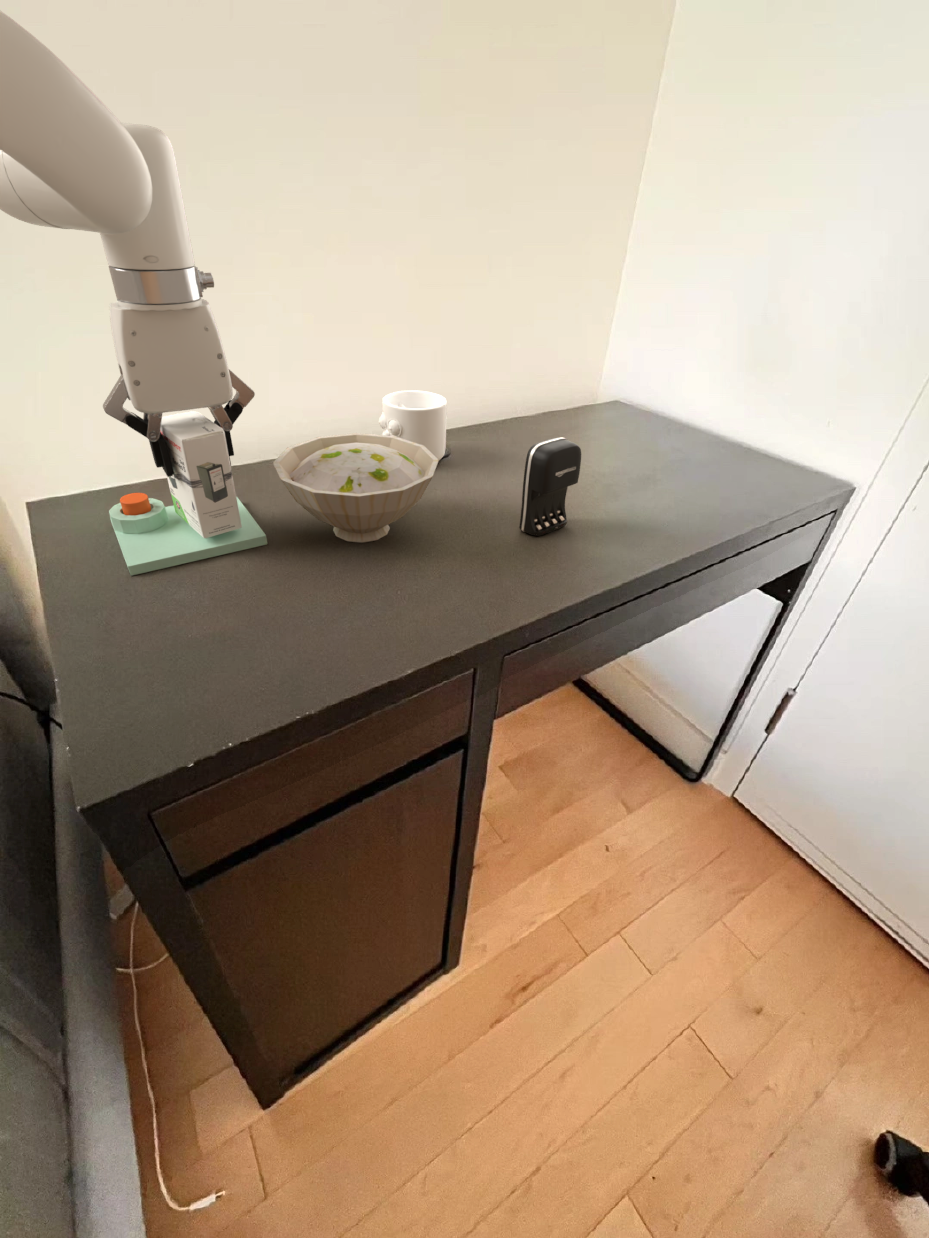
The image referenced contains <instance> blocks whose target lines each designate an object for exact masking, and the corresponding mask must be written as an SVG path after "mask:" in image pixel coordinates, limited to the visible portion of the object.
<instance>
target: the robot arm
mask: <svg viewBox="0 0 929 1238" xmlns="http://www.w3.org/2000/svg"><path fill="white" fill-rule="evenodd" d="M182 191H183V190H182V186H181V181H180V176H179V170H178V164H177V159H176V154H175V150H174V147H173V144H172V142H171V140H170V138H169V137H168V135H167V134H166V133H165V132H164V131H163V130H161V129H159V128H157V127H155V126H152V125H148V124H139V123H130V122H121V121H120V120H119V118H118V117H117V116H116V115H115V114H114V113H113V112H112V111H111V110H110V108H108V106H107V105H106V104H105V103H104V102H103V101H102V100H101V99H100V98H99V97H98V96H97V95H96V94H95V93H94V92H93V91H92V90H91V89H90V88H89V87H88V86H87V85H86V84H85V82H84V81H82V80H81V78H79V77H78V76H77V74H75V73H74V72H73V71H72V69H70V68H69V67H68V66H67V64H66V63H65V62H63V60H61V59H60V58H59V56H57V55H56V54H55V53H54V52H53V51H51V50H50V48H48V47H47V46H46V45H45V44H44V43H42V41H40V40H39V39H38V38H36V37H35V35H33V34H32V33H30V31H28V30H27V29H25V28H24V27H23V26H22V25H20V24H19V23H18V22H17V21H15V20H14V19H13V18H11V17H10V16H8V15H7V14H6V13H5V12H3V11H2V10H0V210H1V211H2V212H3V213H5V214H7V216H8V215H9V216H10V217H12V218H14V219H16V220H19V221H22V222H24V223H28V224H31V225H34V226H38V227H46V228H53V229H60V230H61V229H62V230H76V231H84V232H92V233H99V236H100V238H101V243H102V247H103V250H104V254H105V258H106V263H107V265H108V270H109V273H110V277H111V283H112V285H113V290H114V293H115V297H116V301H112V302H110V303H109V306H108V307H109V309H108V310H109V321H110V329H111V330H110V331H111V335H112V341H113V347H114V351H115V356H116V361H117V366H118V369H119V374H120V376H119V378H118V380H117V381H116V382H115V384H114V386H113V388H112V389H111V391H110V392H109V394H108V396H107V398H106V399H105V400H104V402H103V403H102V409H103V411H104V412H105V414H107V415H108V416H110V417H111V418H113V419H115V420H117V421H119V422H121V423H123V424H124V425H126V426H128V427H129V428H130V429H132V430H134V431H135V432H137V433H138V434H140V435H142V436H143V437H145V438H147V440H148V442H149V445H150V449H151V450H150V451H151V453H152V458H153V462H154V464H155V466H156V468H162V470H163V471H164V473H165V475H166V478H167V477H169V476H173V474H174V471H173V467H172V463H171V459H170V455H169V451H168V446H167V443H166V440H165V439H164V437H163V436H162V434H161V432H160V429H161V421H162V417H163V414H164V413H165V414H166V413H171V412H181V411H191V410H199V409H205V408H208V410H209V412H210V413H211V415H212V417H213V419H214V421H213V422H214V423H215V424H216V425H218V426H219V427H221V428H222V429H223V430H224V432H225V437H226V443H227V449H228V454H229V459H230V465H231V466H232V461H231V457H234V456H235V451H234V446H233V440H232V435H231V431H232V430H233V428H234V424H235V423H236V421H237V420H238V418H239V417H240V416H241V414H242V413H243V410H244V409H245V408H246V407H247V406H248V405H249V403H250V402H252V400H253V399H254V398H255V395H256V393H255V390H253V389H252V388H251V387H250V386H249V385H247V384H246V382H244V381H243V380H242V379H241V378H240V377H239V376H237V375H236V374H235V373H234V372H233V371H232V370H231V369H229V365H228V361H227V357H226V353H225V350H224V345H223V343H222V339H221V334H220V331H219V328H218V325H217V321H216V319H215V316H214V314H213V310H212V307H211V305H210V303H209V301H208V300H207V299H203V296H204V295H203V293H204V290H207V289H213V288H215V281H214V276H213V273H212V272H204V271H203V270H202V271H200V269H199V268H198V267H197V266H196V262H195V257H194V252H193V245H192V240H191V235H190V230H189V224H188V219H187V213H186V207H185V203H184V197H183V192H182ZM233 389H234V390H235V395H234V394H233ZM233 395H234V396H233ZM127 400H128V401H131V404H132V406H133V408H134V409H135V410H136V411H138V412H140V413H141V414H142V413H143V415H142V416H143V417H140V416H139V415H137V414H136V413H135V412H132V411H130V410H128V409H127V408H125V407H124V404H125V402H126V401H127ZM223 405H225V406H224V407H223Z"/></svg>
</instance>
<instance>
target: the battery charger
mask: <svg viewBox="0 0 929 1238" xmlns="http://www.w3.org/2000/svg"><path fill="white" fill-rule="evenodd" d="M581 464H582V449H581V447H580V446H579V444H577V443H575V442H573V441H571V440H569V439H568V438H565V437H560V436H559V437H553V438H549V439H545V440H542V441H540V442H539V441H538V442H536V443H534V444H532V446H530V448H529V449H528V451H527V454H526V457H525V464H524V470H523V471H524V472H523V482H522V492H521V494H522V495H521V508H520V509H521V510H520V517H519V525H518V528H519V530H521V532H523V533H527V534H529V535H532V536H534V537H538V536H539V537H540V536H543V535H547V534H548V533H551V532H554V531H556V530H558V529H561V528H563V527H565V526H566V525H567V522H568V520H567V519H568V518H567V513H566V512H567V511H566V497H567V493H568V487H570V486H574V485H576V484H578V483H579V477H580V473H581Z"/></svg>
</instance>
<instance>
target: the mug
mask: <svg viewBox="0 0 929 1238" xmlns="http://www.w3.org/2000/svg"><path fill="white" fill-rule="evenodd" d="M381 400H382V401H381V407H382V411H381V415H380V416H379V419H378V425H379V427H380V428H381V429H382V434H381V435H386V436H395V437H398V438H401V439H405V440H408V441H411V442H414V443H417V444H420V445H423V446H425V447H426V448H427V449H428V450H429V451H430V452H431V453H432V454H433V455H434V456H435V457H436V458H437V459H438V460H439V461H440V460H442V458H443V457H444V456H445V454H446V446H447V417H448V416H447V413H448V412H447V410H448V402H447V399H446V397H444V396H443V395H441V394H438V393H435V392H431V391H425V390H417V389H416V390H415V389H413V390H409V389H408V390H398V391H394V392H393V391H392V392H390V393H387V394H386V395H384V396H383V397H382V399H381Z"/></svg>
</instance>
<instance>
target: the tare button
mask: <svg viewBox="0 0 929 1238" xmlns="http://www.w3.org/2000/svg"><path fill="white" fill-rule="evenodd" d="M148 498H149V496H148V494H146V493H144V492H131V493H127V494H125V495H123V496H121V497H120V498H119V503H121V506H122V509H123V513H124V514H125V515H134V516H135V515H141V514H145V513H147V512H150V511H151V506H150V502H149V499H148Z"/></svg>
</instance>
